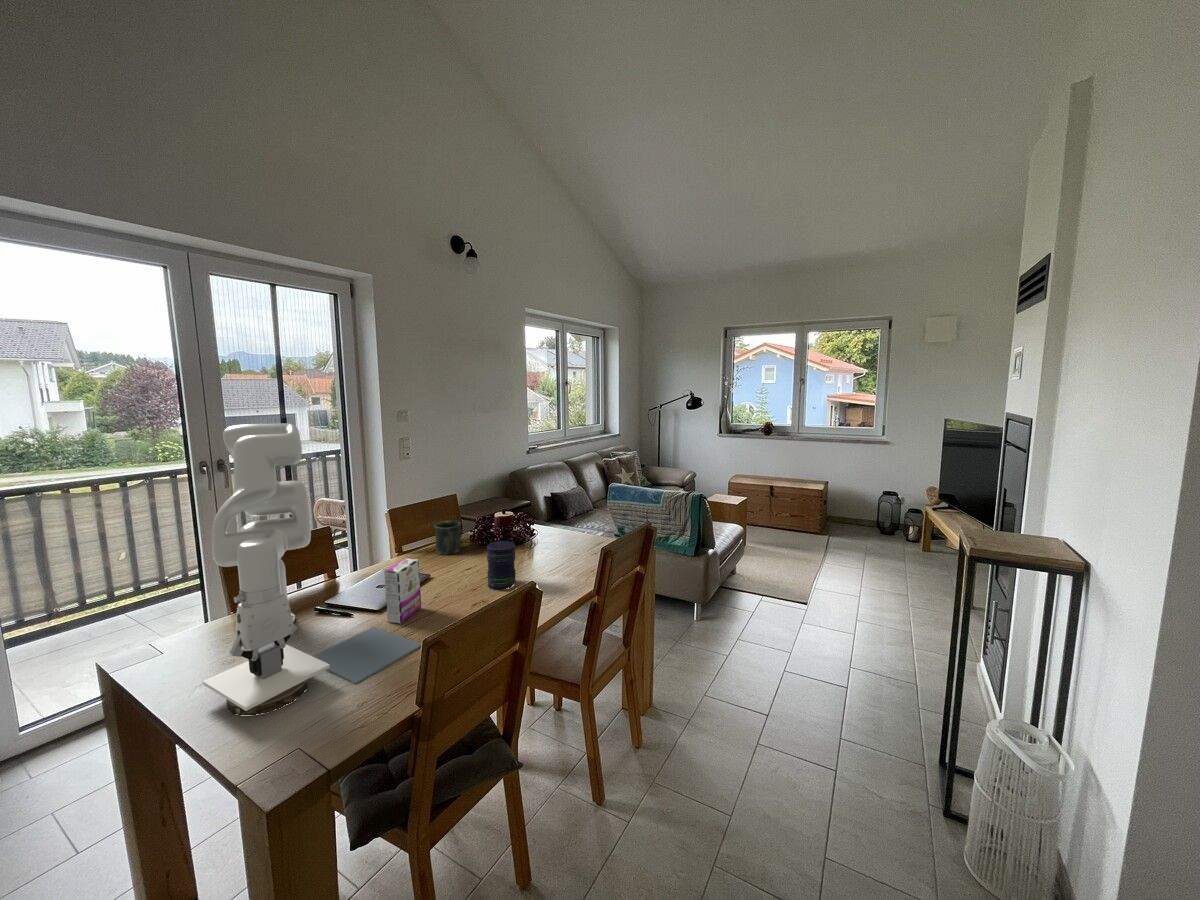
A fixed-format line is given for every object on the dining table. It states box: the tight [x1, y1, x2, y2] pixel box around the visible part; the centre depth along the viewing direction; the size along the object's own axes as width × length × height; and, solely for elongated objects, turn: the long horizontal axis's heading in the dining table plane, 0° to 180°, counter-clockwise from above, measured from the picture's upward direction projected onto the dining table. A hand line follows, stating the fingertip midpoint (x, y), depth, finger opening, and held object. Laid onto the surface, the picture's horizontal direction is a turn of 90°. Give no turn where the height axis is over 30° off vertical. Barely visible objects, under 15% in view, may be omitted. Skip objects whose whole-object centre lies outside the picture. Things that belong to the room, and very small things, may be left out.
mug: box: [433, 520, 463, 556], centre depth 212 cm, size 11×15×12 cm
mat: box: [311, 626, 422, 685], centre depth 131 cm, size 20×20×1 cm
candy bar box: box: [384, 558, 422, 625], centre depth 152 cm, size 11×5×16 cm, turn 168°
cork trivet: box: [225, 678, 310, 715], centre depth 114 cm, size 16×16×3 cm
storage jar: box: [486, 540, 516, 591], centre depth 175 cm, size 10×10×15 cm
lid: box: [202, 642, 330, 711], centre depth 113 cm, size 18×18×7 cm
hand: (267, 668), depth 113 cm, fingers closed on lid, 3 cm apart
